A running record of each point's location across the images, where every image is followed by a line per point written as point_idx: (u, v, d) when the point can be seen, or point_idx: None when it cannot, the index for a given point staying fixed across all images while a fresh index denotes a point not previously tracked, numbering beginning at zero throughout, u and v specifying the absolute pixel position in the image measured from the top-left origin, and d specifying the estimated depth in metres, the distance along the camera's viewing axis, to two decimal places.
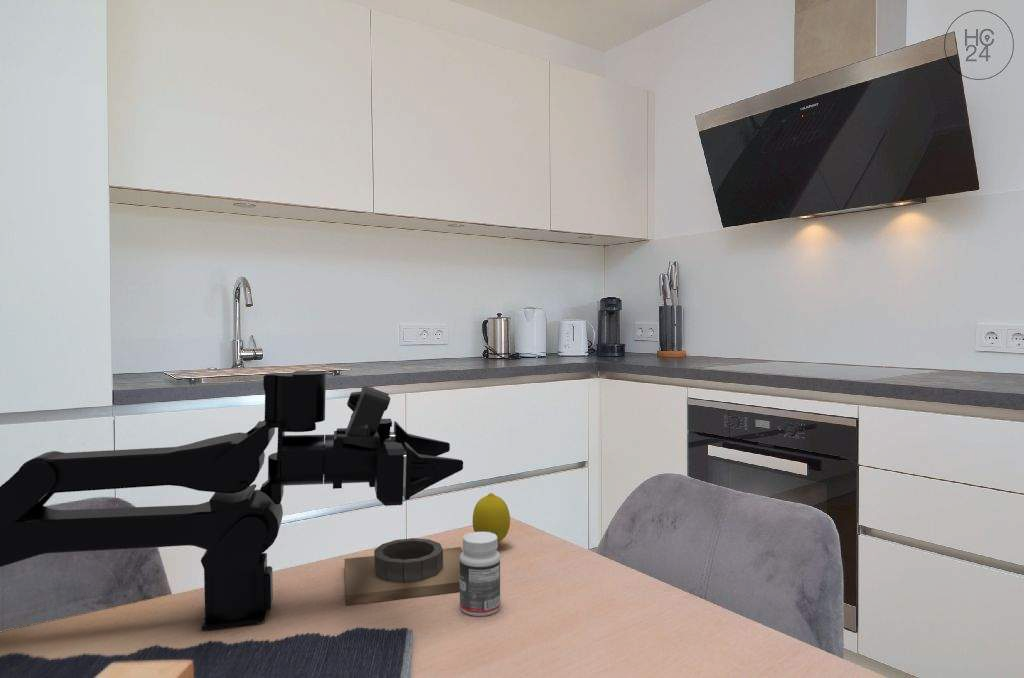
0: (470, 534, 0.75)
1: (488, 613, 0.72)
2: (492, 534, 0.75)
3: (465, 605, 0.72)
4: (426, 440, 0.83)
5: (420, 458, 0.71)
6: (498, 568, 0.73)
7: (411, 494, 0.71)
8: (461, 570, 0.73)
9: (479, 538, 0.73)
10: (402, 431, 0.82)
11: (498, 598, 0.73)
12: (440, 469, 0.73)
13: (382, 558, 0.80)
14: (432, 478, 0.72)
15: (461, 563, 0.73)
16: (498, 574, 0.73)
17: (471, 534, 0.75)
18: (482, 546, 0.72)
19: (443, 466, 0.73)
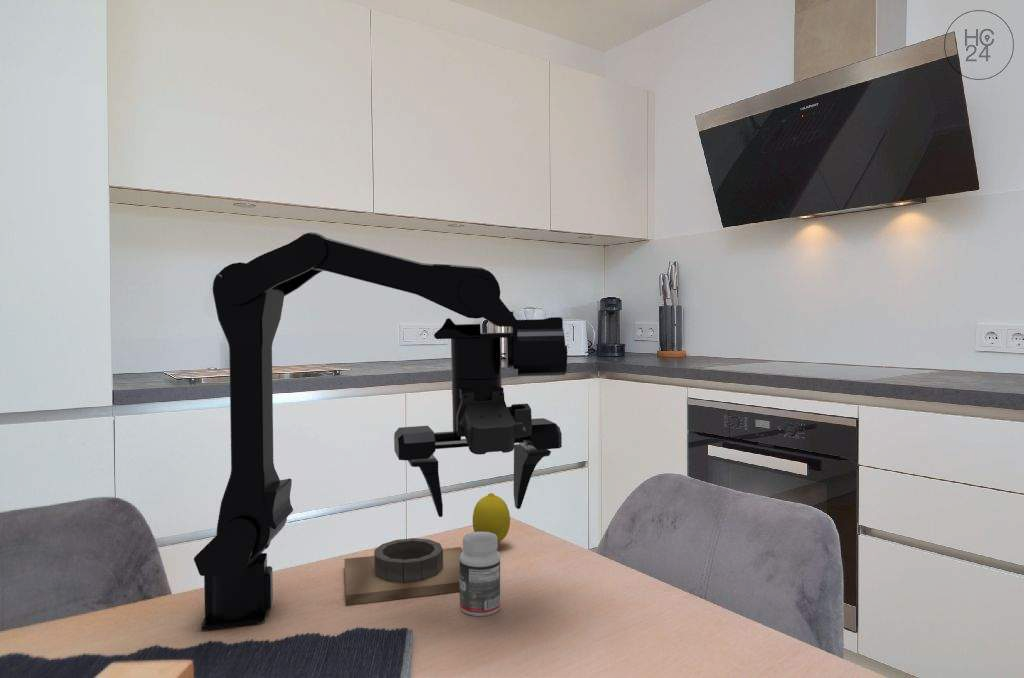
0: (470, 534, 0.75)
1: (488, 613, 0.72)
2: (492, 534, 0.75)
3: (465, 605, 0.72)
4: (520, 484, 0.74)
5: (423, 474, 0.71)
6: (498, 568, 0.73)
7: None
8: (461, 570, 0.73)
9: (479, 538, 0.73)
10: (525, 459, 0.73)
11: (498, 598, 0.73)
12: (430, 492, 0.73)
13: (382, 558, 0.80)
14: (427, 482, 0.73)
15: (461, 563, 0.73)
16: (498, 574, 0.73)
17: (471, 534, 0.75)
18: (482, 546, 0.72)
19: (432, 495, 0.72)
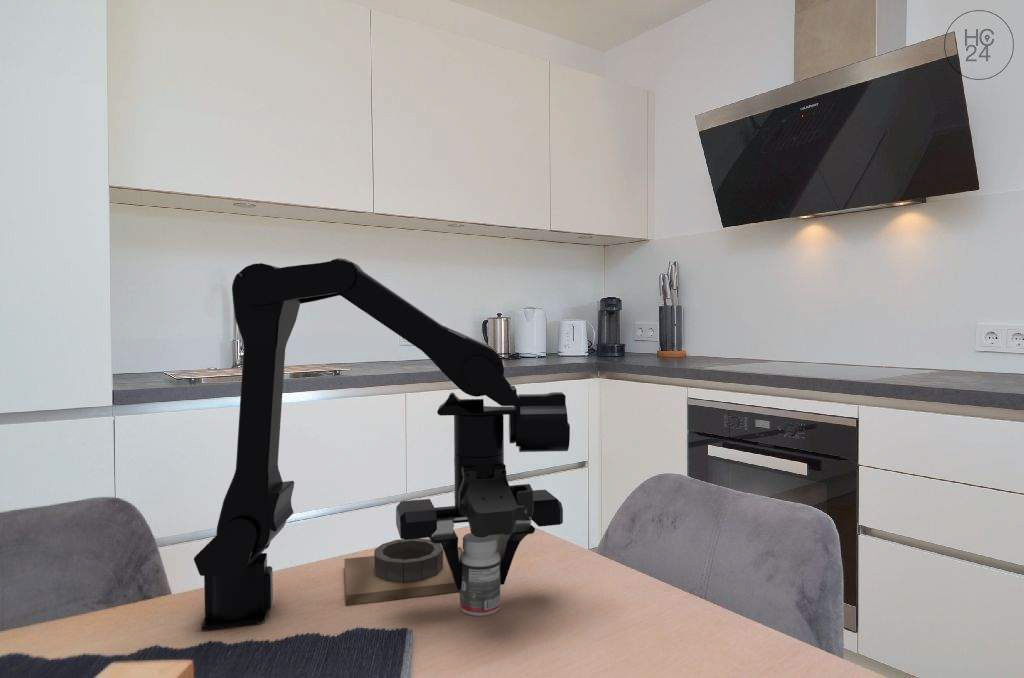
0: (470, 534, 0.75)
1: (488, 613, 0.72)
2: None
3: (465, 605, 0.72)
4: (504, 560, 0.74)
5: (443, 549, 0.71)
6: (498, 568, 0.73)
7: None
8: (461, 570, 0.73)
9: (479, 538, 0.73)
10: (509, 537, 0.73)
11: (498, 598, 0.73)
12: (449, 565, 0.73)
13: (382, 558, 0.80)
14: (445, 554, 0.74)
15: (461, 563, 0.73)
16: (498, 574, 0.73)
17: (471, 534, 0.75)
18: (482, 546, 0.72)
19: (450, 569, 0.73)
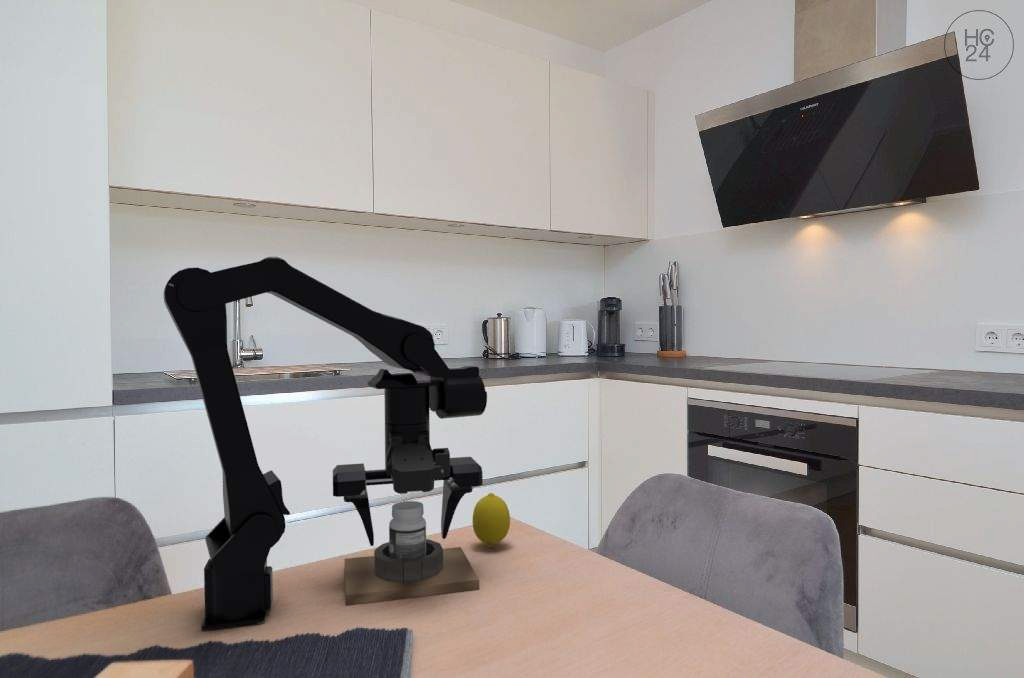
0: (399, 503, 0.83)
1: None
2: (419, 503, 0.83)
3: None
4: (445, 517, 0.83)
5: (356, 508, 0.80)
6: (423, 533, 0.82)
7: None
8: (390, 534, 0.82)
9: (406, 506, 0.82)
10: (449, 495, 0.82)
11: None
12: None
13: (382, 558, 0.80)
14: None
15: (390, 528, 0.82)
16: (423, 538, 0.82)
17: (400, 503, 0.83)
18: (408, 513, 0.81)
19: None
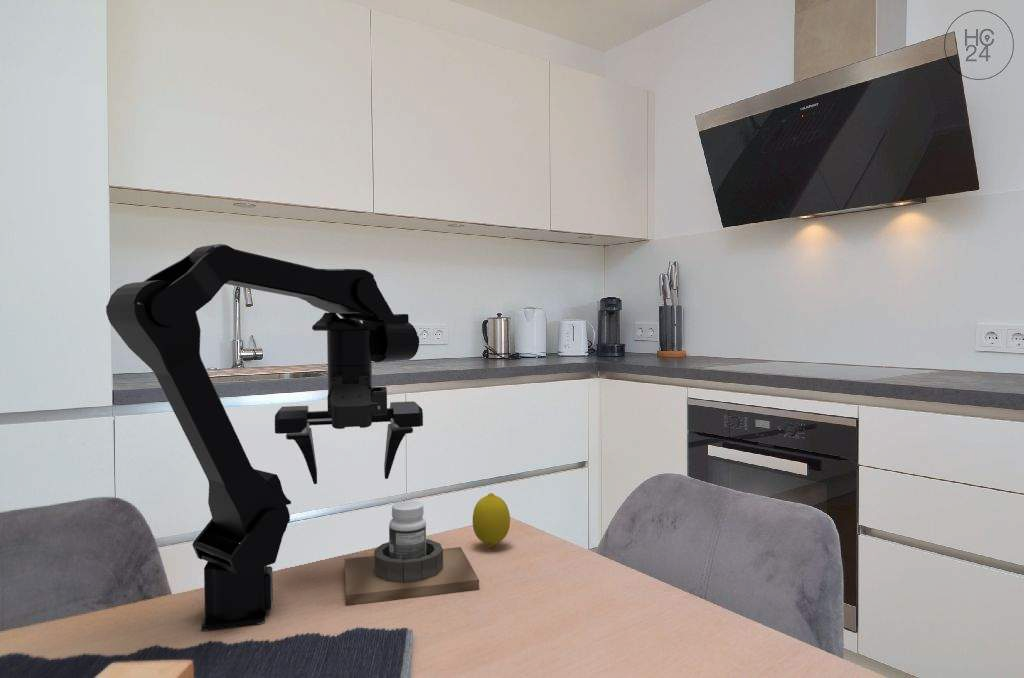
0: (399, 503, 0.83)
1: None
2: (419, 503, 0.83)
3: None
4: (387, 457, 0.86)
5: None
6: (423, 533, 0.82)
7: None
8: (390, 534, 0.82)
9: (406, 506, 0.82)
10: (390, 436, 0.85)
11: None
12: None
13: (382, 558, 0.80)
14: None
15: (390, 528, 0.82)
16: (423, 538, 0.82)
17: (400, 503, 0.83)
18: (408, 513, 0.81)
19: None
